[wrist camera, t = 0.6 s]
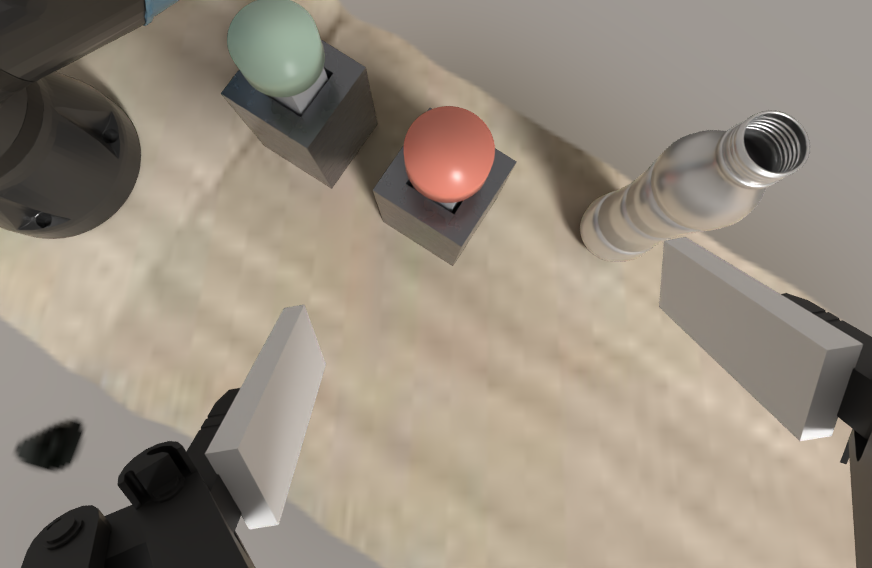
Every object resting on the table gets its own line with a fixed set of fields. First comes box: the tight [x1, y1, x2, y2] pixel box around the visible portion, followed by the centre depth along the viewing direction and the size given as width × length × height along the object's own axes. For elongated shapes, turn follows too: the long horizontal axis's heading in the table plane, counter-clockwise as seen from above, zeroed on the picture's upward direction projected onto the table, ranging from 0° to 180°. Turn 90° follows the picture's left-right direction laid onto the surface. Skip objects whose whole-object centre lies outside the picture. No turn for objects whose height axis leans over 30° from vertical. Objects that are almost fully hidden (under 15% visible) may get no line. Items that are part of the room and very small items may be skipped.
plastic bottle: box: [580, 110, 810, 262], centre depth 32 cm, size 6×7×20 cm
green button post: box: [221, 40, 377, 188], centre depth 37 cm, size 8×8×9 cm
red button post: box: [373, 108, 516, 266], centre depth 37 cm, size 8×8×9 cm
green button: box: [227, 0, 328, 117], centre depth 33 cm, size 6×6×10 cm
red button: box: [404, 106, 495, 214], centre depth 33 cm, size 6×6×10 cm
